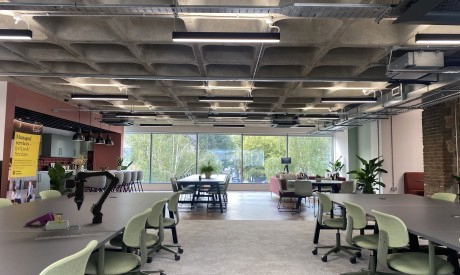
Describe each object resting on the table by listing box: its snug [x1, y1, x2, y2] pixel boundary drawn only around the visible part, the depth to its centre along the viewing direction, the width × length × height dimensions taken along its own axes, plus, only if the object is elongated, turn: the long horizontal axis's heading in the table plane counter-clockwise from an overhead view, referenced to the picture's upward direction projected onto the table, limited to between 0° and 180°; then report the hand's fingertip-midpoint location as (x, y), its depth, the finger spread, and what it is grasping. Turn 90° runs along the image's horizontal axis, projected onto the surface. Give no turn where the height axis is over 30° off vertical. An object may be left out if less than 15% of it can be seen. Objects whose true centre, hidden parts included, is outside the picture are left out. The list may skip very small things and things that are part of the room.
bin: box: [45, 219, 70, 231], centre depth 226 cm, size 13×13×5 cm
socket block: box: [67, 224, 82, 231], centre depth 223 cm, size 8×8×3 cm
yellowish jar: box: [54, 214, 62, 224], centre depth 226 cm, size 4×4×9 cm
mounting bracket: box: [25, 210, 56, 227], centre depth 241 cm, size 9×8×18 cm
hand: (79, 209), depth 236 cm, fingers open, 9 cm apart
